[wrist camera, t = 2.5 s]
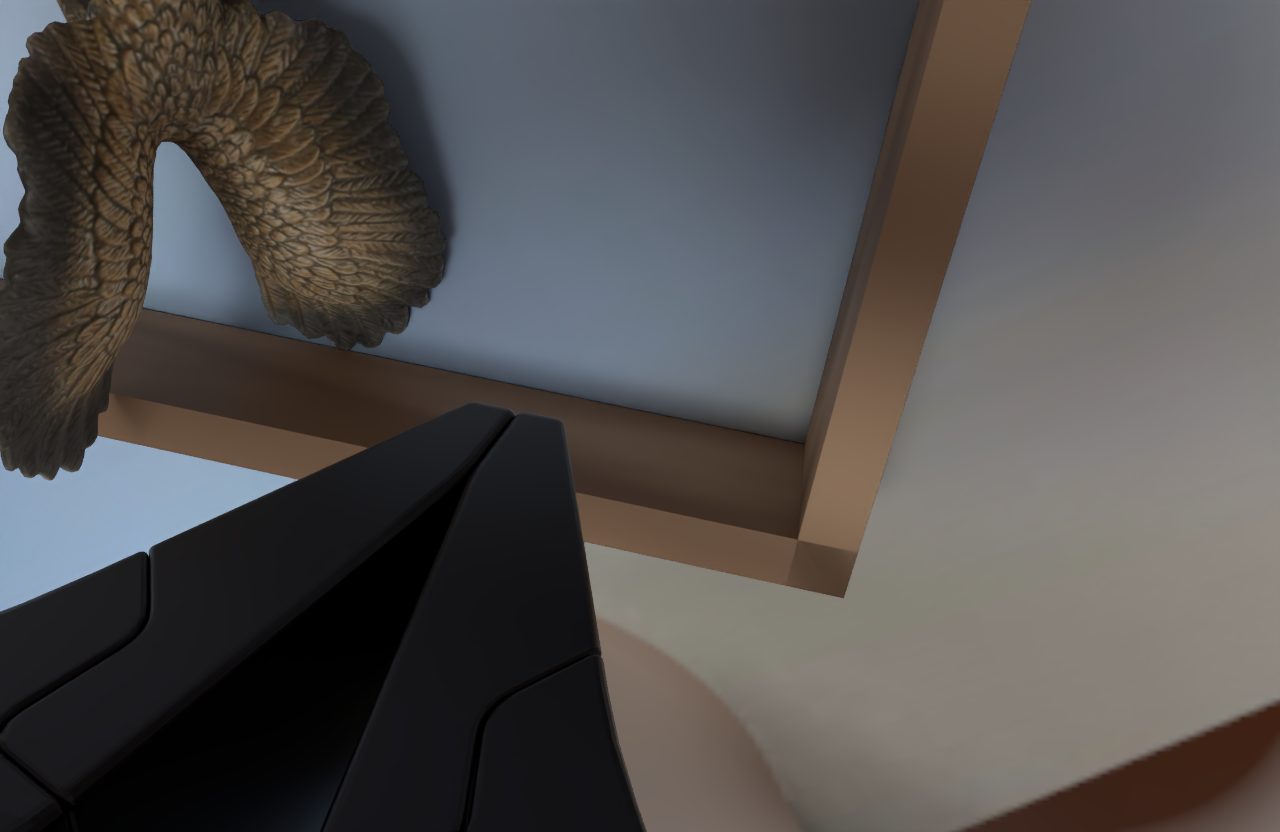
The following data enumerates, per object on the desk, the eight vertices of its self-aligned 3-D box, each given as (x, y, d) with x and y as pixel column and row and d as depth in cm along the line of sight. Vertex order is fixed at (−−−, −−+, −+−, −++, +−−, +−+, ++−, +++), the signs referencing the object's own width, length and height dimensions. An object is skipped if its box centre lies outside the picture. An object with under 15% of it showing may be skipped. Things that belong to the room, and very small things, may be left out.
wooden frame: (844, 497, 20) (843, 598, 17) (-9, 318, 21) (-126, 387, 19) (1057, -228, 13) (1106, -240, 11) (-178, -408, 15) (-391, -457, 12)
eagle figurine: (-159, -55, 16) (65, 452, 19) (-458, -234, 10) (-52, 582, 12) (308, -140, 18) (455, 331, 21) (322, -335, 12) (535, 387, 14)
